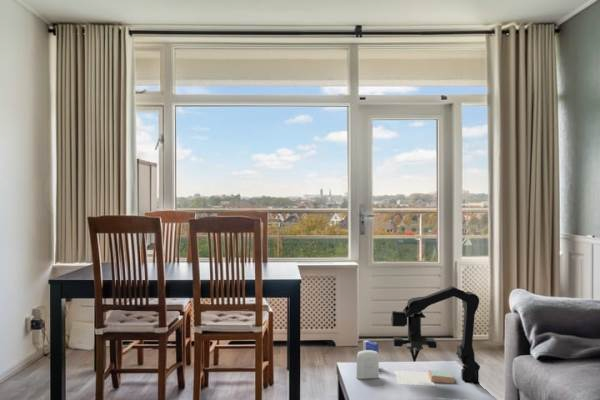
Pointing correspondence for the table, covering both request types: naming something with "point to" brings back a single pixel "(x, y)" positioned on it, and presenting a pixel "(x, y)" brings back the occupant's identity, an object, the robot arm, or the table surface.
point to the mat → (413, 378)
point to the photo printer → (367, 364)
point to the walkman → (370, 346)
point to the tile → (441, 376)
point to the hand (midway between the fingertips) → (414, 361)
